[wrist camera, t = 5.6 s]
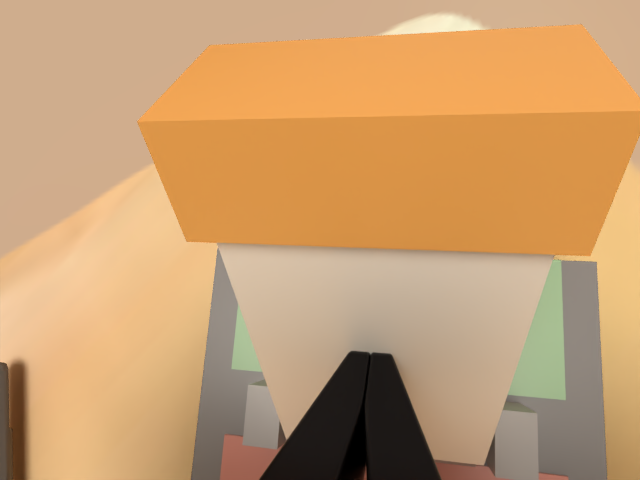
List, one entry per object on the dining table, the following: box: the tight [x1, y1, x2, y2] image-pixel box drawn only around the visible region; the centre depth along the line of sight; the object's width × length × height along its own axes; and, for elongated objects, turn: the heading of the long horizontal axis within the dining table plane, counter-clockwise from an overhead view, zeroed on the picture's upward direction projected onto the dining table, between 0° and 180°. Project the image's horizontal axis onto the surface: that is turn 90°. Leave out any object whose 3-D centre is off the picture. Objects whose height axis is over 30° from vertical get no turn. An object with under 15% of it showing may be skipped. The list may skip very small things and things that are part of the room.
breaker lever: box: [137, 25, 640, 467], centre depth 9 cm, size 3×6×11 cm
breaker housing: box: [191, 248, 607, 480], centre depth 15 cm, size 10×12×6 cm
